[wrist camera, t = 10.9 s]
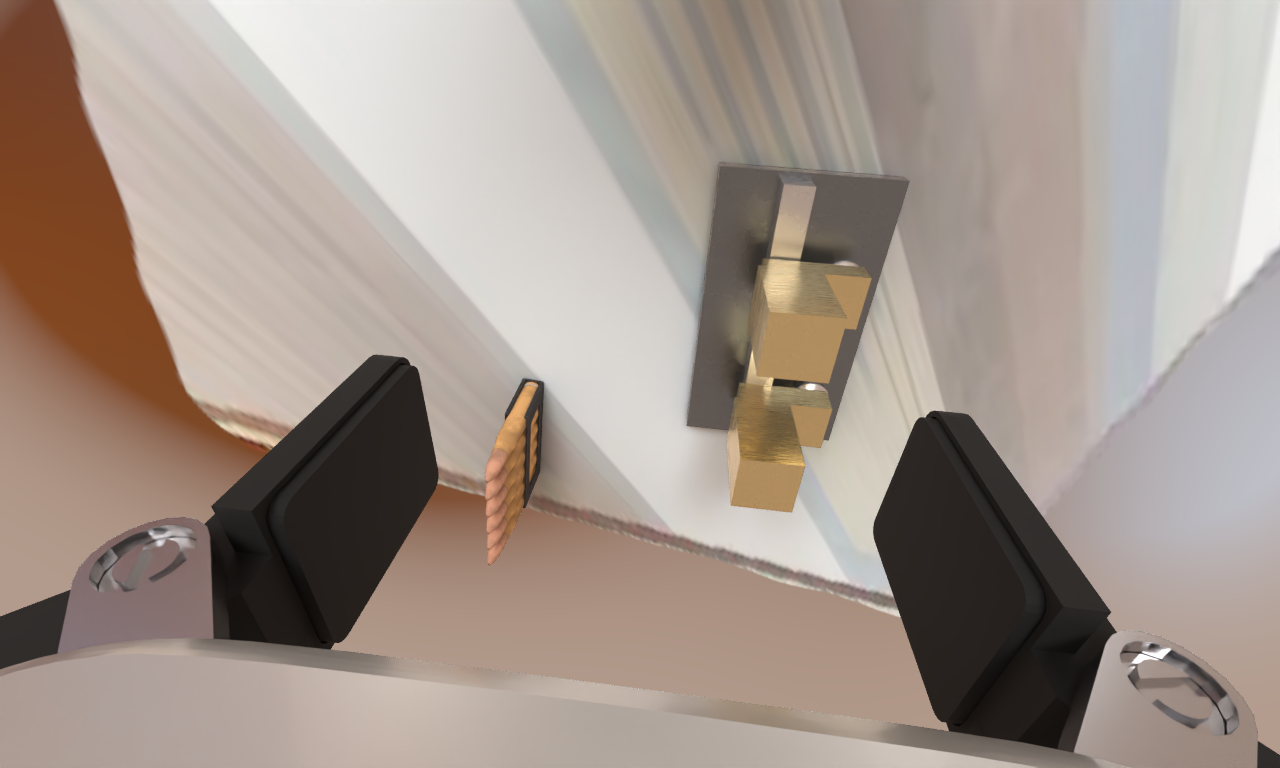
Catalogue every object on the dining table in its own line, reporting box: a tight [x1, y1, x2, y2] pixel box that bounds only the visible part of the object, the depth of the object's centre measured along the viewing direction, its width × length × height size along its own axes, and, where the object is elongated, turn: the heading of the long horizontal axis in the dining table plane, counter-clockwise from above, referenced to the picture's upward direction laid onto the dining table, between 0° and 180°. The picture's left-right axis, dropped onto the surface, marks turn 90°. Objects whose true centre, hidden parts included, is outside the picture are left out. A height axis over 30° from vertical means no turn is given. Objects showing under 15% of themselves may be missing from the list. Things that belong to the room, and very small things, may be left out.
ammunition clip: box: [485, 378, 544, 565], centre depth 44 cm, size 11×2×12 cm, turn 172°
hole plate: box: [687, 163, 909, 512], centre depth 36 cm, size 21×12×12 cm, turn 177°
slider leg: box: [748, 258, 872, 384], centre depth 33 cm, size 4×7×10 cm, turn 87°
